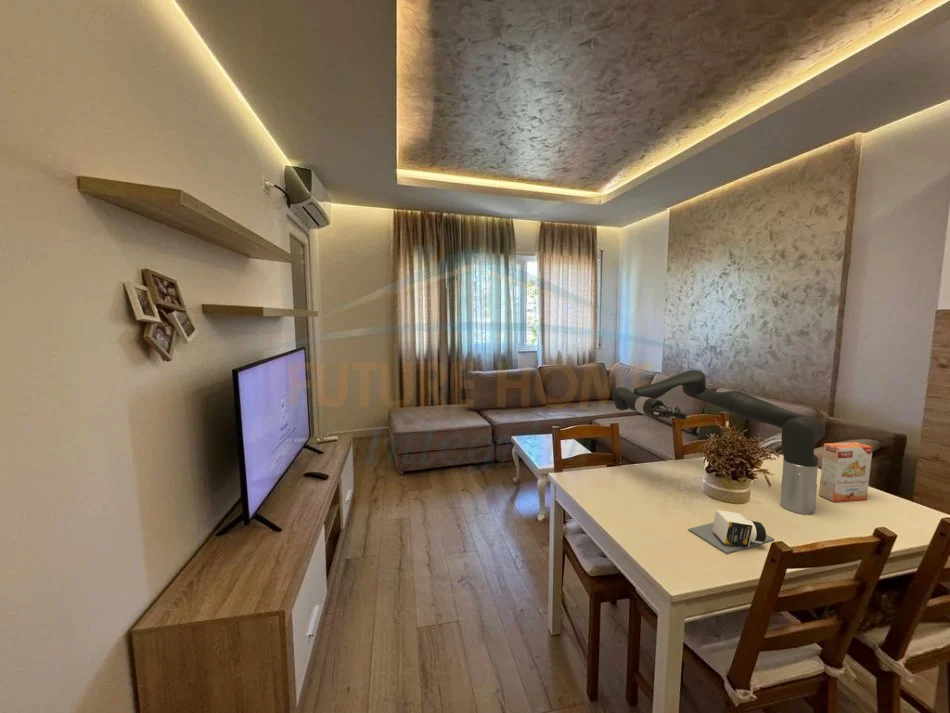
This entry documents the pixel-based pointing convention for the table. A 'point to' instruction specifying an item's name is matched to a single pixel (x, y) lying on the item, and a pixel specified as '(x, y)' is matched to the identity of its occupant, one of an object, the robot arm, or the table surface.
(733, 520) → the medicine bottle
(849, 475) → the cracker box
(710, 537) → the placemat
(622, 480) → the table surface
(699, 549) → the table surface
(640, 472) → the table surface
